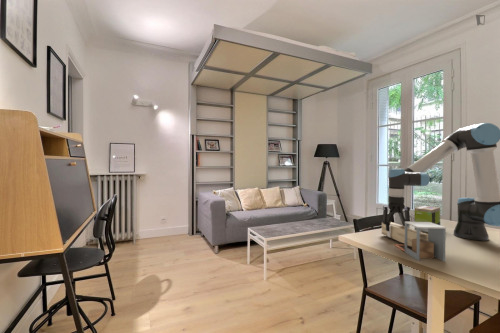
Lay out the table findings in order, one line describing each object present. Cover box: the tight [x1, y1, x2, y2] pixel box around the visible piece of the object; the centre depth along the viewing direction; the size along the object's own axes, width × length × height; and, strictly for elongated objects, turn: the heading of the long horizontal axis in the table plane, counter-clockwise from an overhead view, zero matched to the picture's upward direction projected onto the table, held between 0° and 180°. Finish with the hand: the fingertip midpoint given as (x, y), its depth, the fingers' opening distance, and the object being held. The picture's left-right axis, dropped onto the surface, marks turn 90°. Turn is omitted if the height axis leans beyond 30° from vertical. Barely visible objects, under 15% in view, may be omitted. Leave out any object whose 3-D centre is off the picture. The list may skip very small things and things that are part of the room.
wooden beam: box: [381, 221, 428, 247], centre depth 128 cm, size 6×26×7 cm, turn 6°
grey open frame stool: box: [394, 221, 447, 262], centre depth 114 cm, size 12×19×15 cm, turn 176°
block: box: [412, 239, 435, 260], centre depth 110 cm, size 6×6×7 cm
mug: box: [394, 210, 415, 228], centre depth 159 cm, size 12×8×11 cm
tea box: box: [414, 205, 441, 233], centre depth 155 cm, size 15×10×15 cm
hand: (396, 236), depth 133 cm, fingers closed on wooden beam, 7 cm apart
